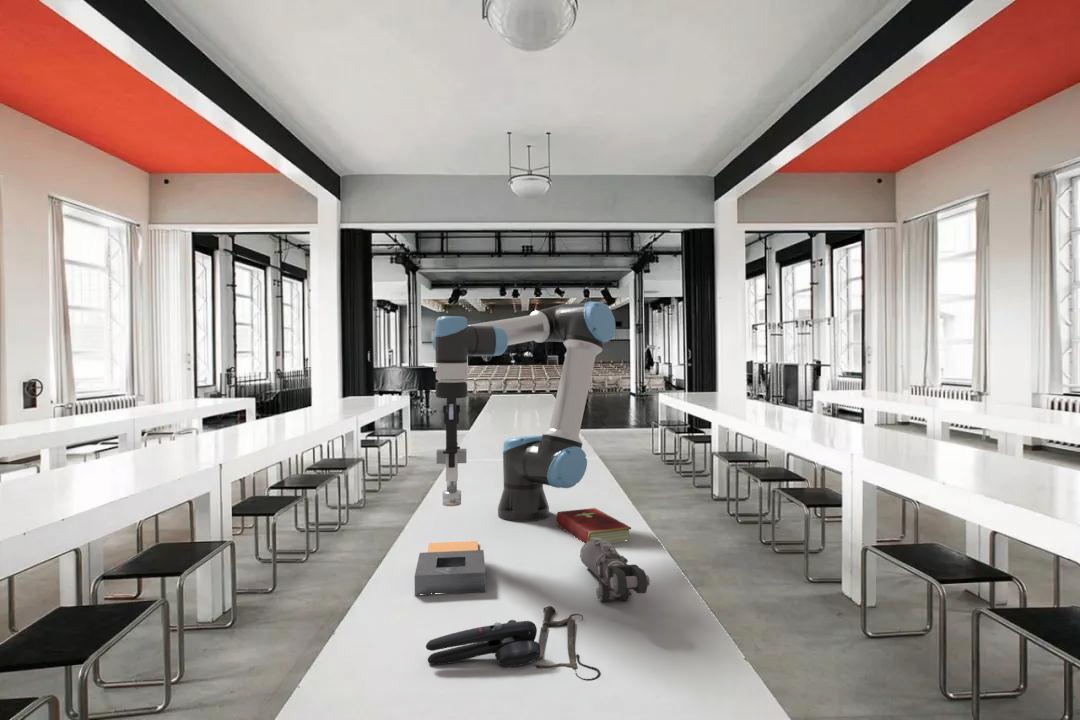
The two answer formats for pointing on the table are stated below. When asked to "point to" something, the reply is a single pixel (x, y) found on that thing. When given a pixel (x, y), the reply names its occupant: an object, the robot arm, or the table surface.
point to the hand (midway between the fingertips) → (451, 479)
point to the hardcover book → (592, 525)
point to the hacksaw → (571, 650)
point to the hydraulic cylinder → (612, 571)
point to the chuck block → (450, 572)
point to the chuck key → (451, 494)
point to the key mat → (453, 546)
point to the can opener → (489, 644)
